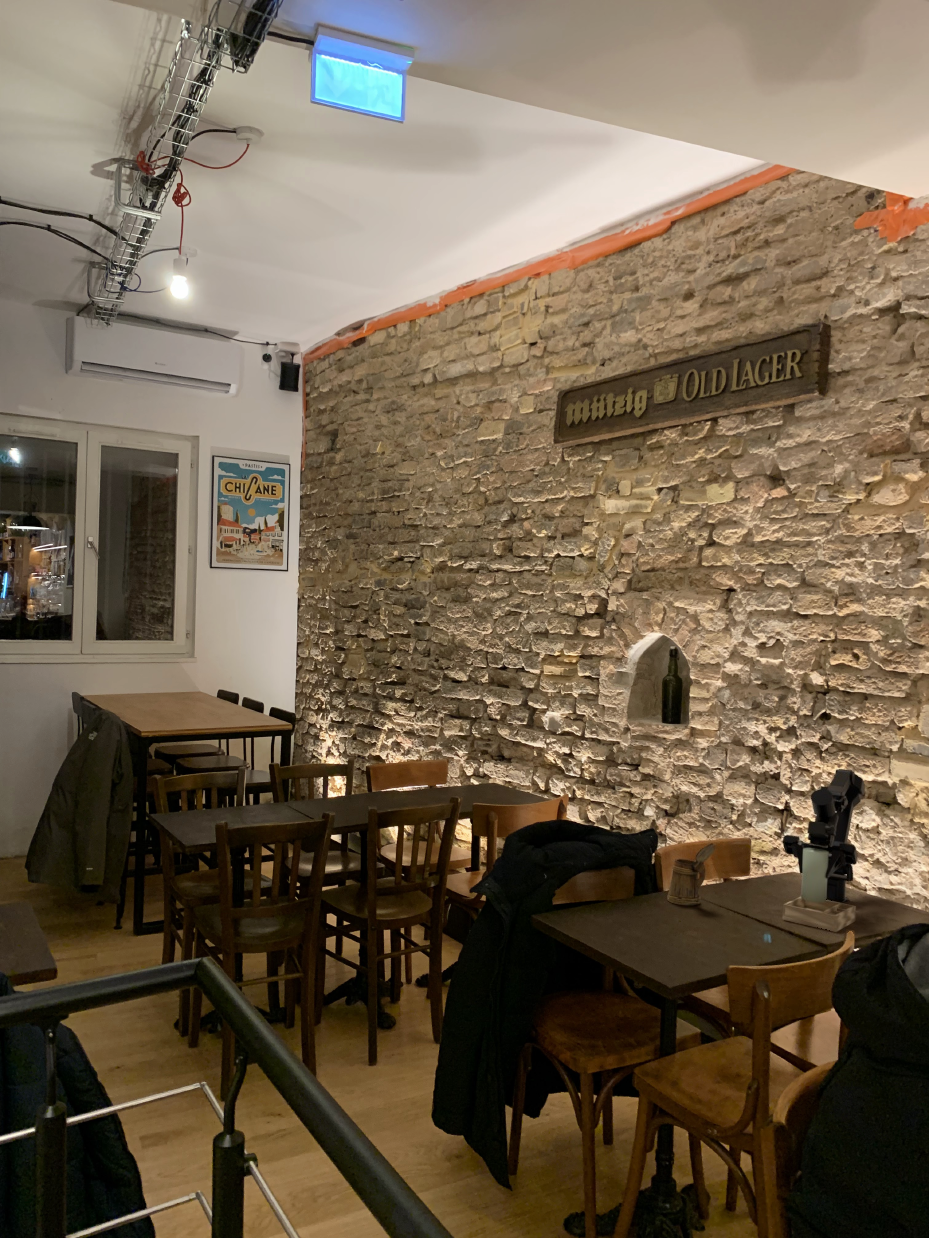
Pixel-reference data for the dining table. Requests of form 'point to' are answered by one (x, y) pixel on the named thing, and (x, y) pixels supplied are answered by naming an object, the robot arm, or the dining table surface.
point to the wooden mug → (688, 878)
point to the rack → (819, 913)
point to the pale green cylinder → (814, 875)
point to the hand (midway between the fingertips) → (813, 875)
